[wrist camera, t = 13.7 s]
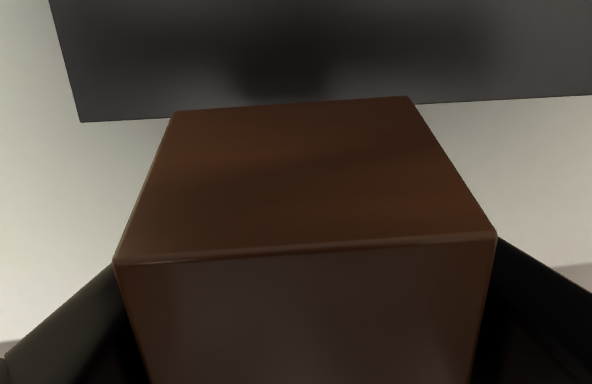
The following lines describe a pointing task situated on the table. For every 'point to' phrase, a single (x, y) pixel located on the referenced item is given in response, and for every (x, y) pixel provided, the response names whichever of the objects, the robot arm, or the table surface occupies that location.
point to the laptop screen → (317, 52)
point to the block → (305, 249)
